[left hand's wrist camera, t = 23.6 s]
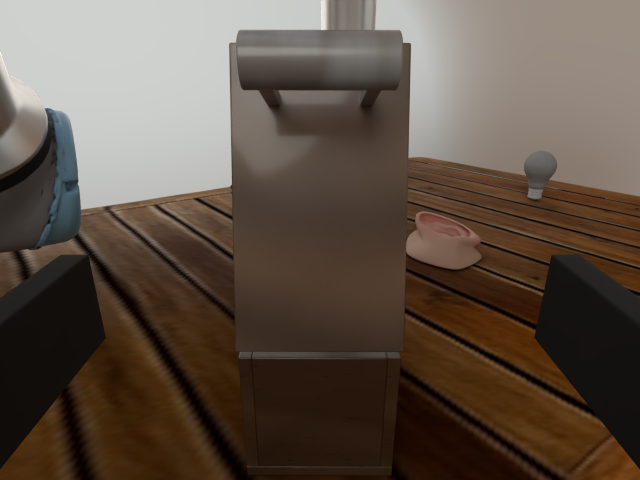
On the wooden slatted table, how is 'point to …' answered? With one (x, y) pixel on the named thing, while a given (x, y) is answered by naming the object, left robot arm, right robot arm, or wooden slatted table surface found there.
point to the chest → (319, 412)
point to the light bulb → (539, 172)
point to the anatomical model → (442, 242)
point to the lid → (319, 189)
